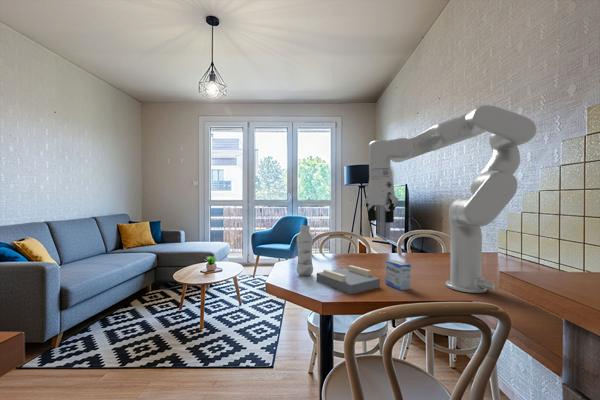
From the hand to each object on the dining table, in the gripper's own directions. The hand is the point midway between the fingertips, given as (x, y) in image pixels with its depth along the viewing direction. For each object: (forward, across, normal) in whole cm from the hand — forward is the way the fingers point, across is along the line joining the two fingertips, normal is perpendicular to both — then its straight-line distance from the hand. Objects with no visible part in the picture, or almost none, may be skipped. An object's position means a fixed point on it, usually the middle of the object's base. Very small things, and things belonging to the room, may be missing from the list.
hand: (380, 221), depth 104 cm
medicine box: (+23, -5, -3) cm, 24 cm away
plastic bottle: (+22, +21, +21) cm, 37 cm away
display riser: (+22, +4, +12) cm, 26 cm away
